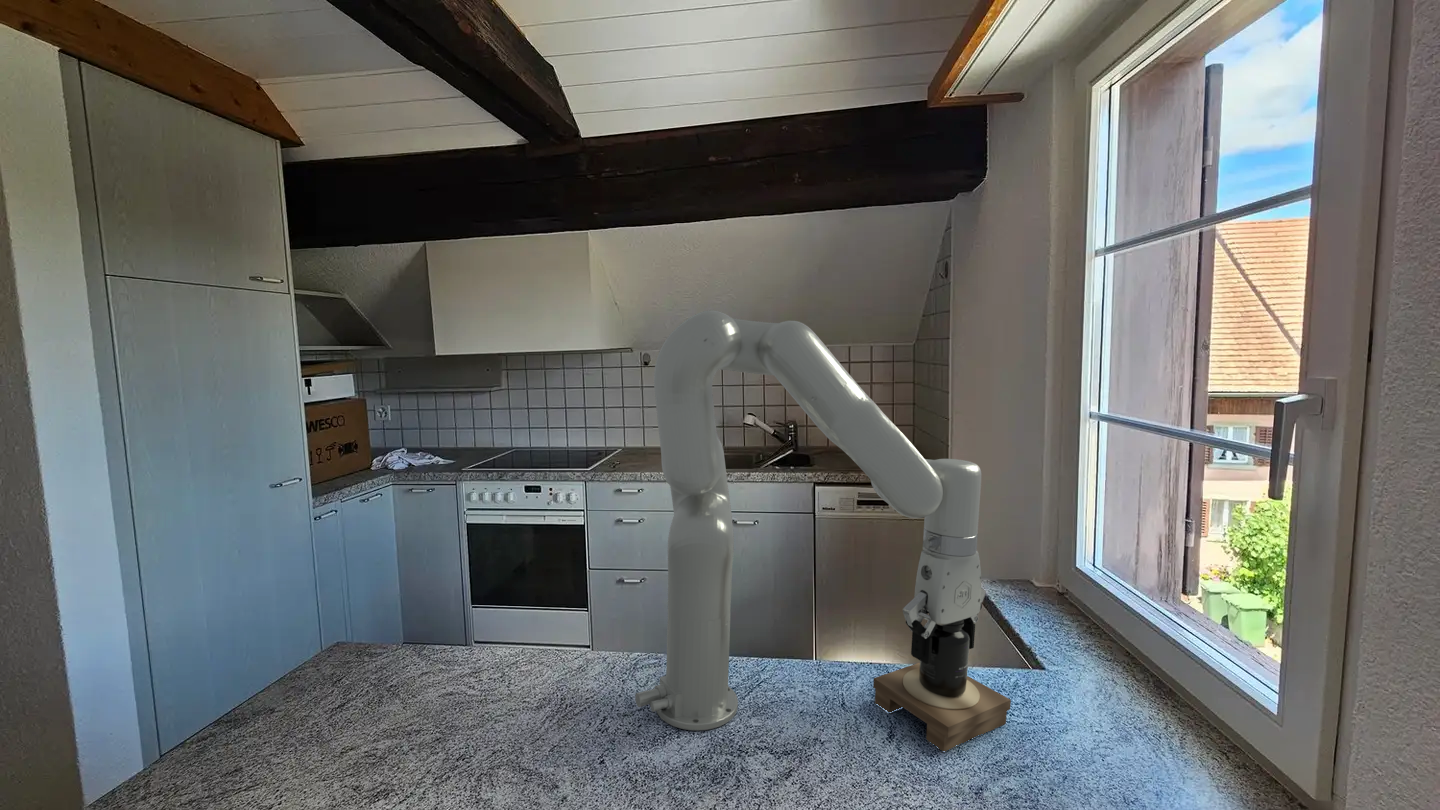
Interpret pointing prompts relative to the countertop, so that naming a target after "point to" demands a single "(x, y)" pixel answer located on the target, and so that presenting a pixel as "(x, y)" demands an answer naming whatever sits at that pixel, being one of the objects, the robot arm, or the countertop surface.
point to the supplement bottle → (947, 661)
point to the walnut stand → (943, 706)
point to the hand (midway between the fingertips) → (942, 652)
